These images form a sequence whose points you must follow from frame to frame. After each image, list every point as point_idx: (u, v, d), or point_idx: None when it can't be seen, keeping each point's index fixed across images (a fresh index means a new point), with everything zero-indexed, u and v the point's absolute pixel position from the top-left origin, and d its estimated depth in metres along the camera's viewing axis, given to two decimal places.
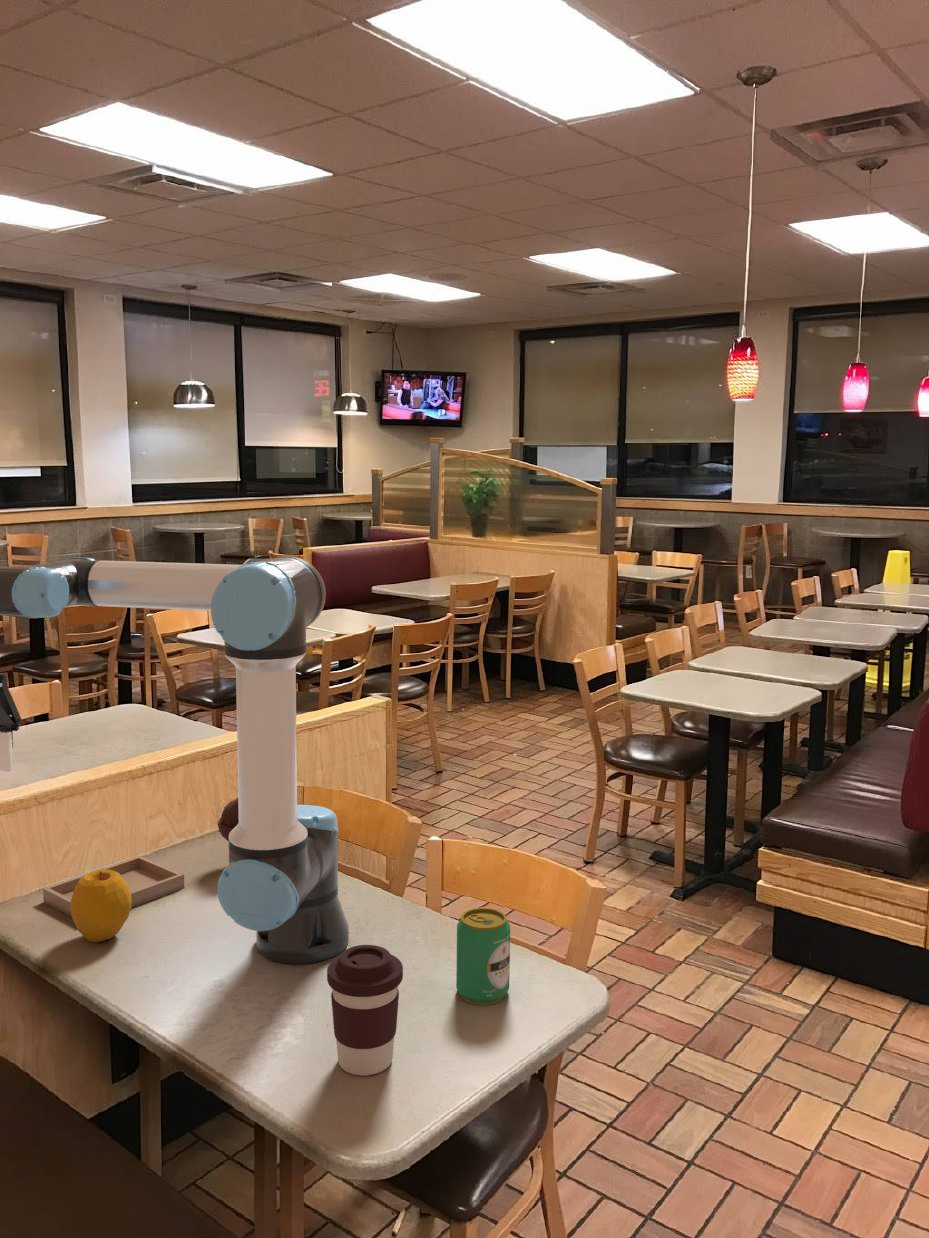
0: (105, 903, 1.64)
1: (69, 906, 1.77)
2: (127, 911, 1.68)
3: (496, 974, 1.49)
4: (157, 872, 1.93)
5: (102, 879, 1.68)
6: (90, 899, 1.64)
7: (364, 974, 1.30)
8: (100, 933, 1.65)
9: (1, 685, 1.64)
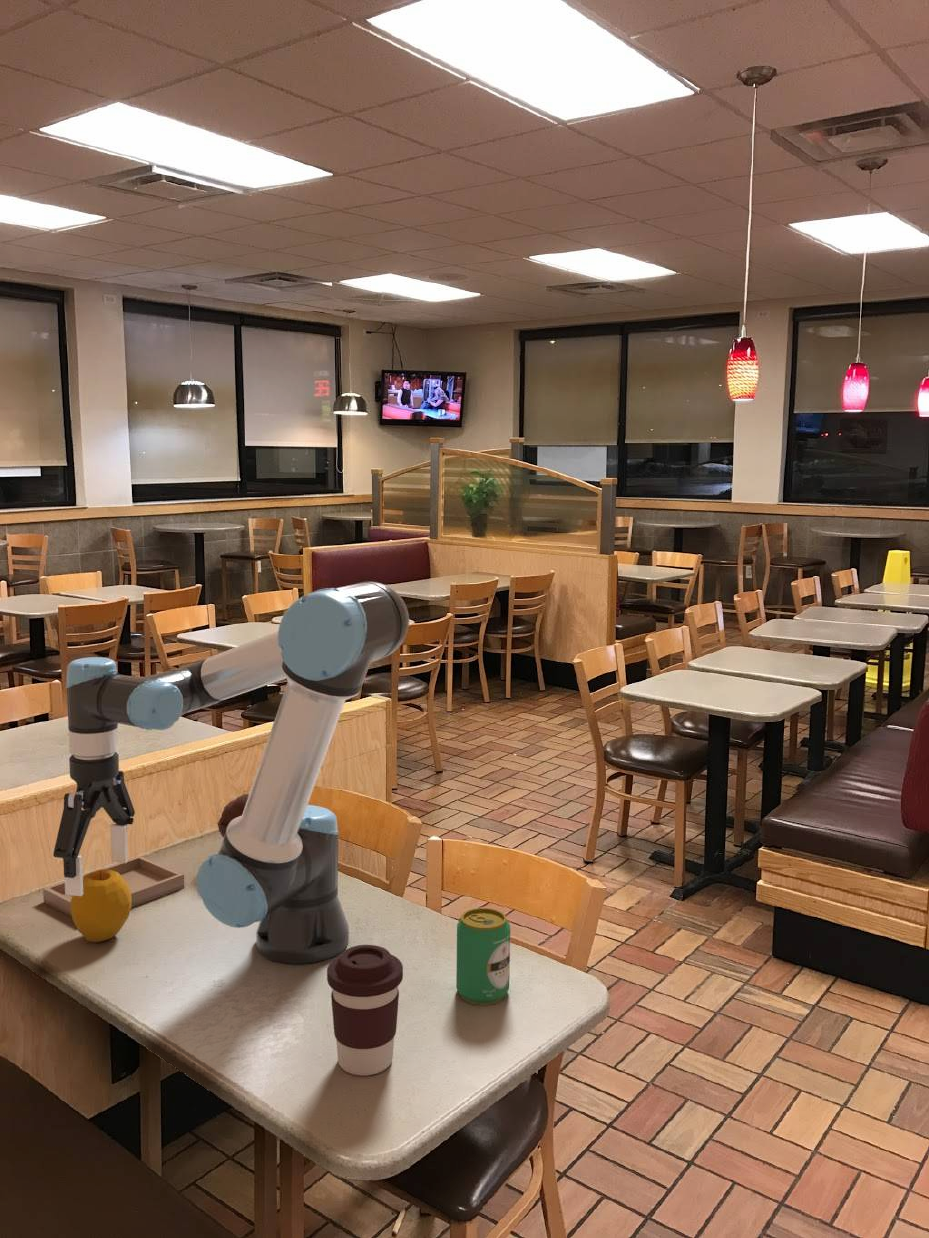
0: (105, 903, 1.64)
1: (69, 906, 1.77)
2: (127, 911, 1.68)
3: (496, 974, 1.49)
4: (157, 872, 1.93)
5: (102, 879, 1.68)
6: (90, 899, 1.64)
7: (364, 974, 1.30)
8: (100, 933, 1.65)
9: (119, 782, 1.70)
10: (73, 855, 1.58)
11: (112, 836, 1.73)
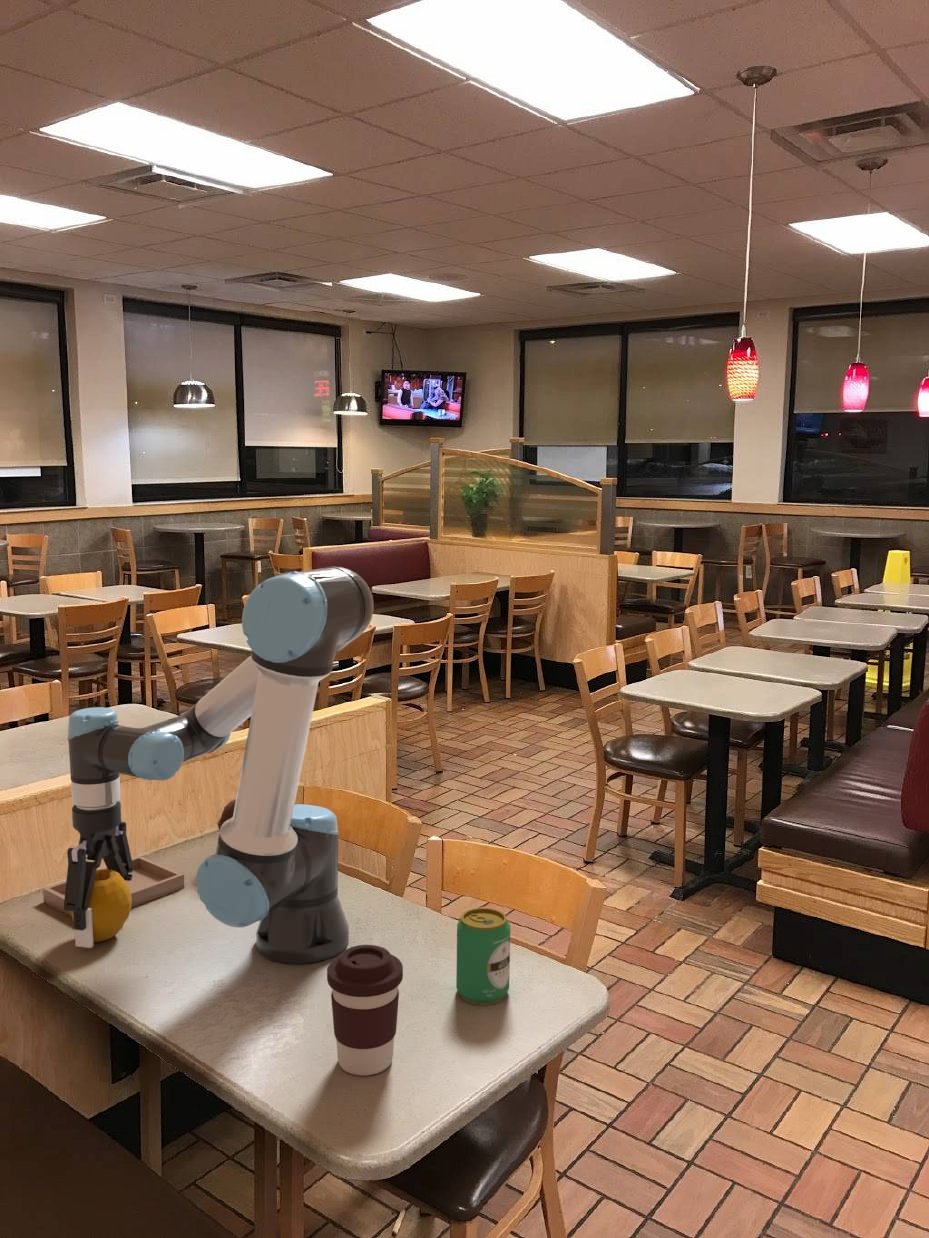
0: (105, 902, 1.64)
1: None
2: (127, 911, 1.68)
3: (496, 974, 1.49)
4: (157, 872, 1.93)
5: (102, 879, 1.68)
6: (90, 899, 1.64)
7: (364, 974, 1.30)
8: (100, 933, 1.65)
9: (121, 833, 1.71)
10: (83, 908, 1.61)
11: None
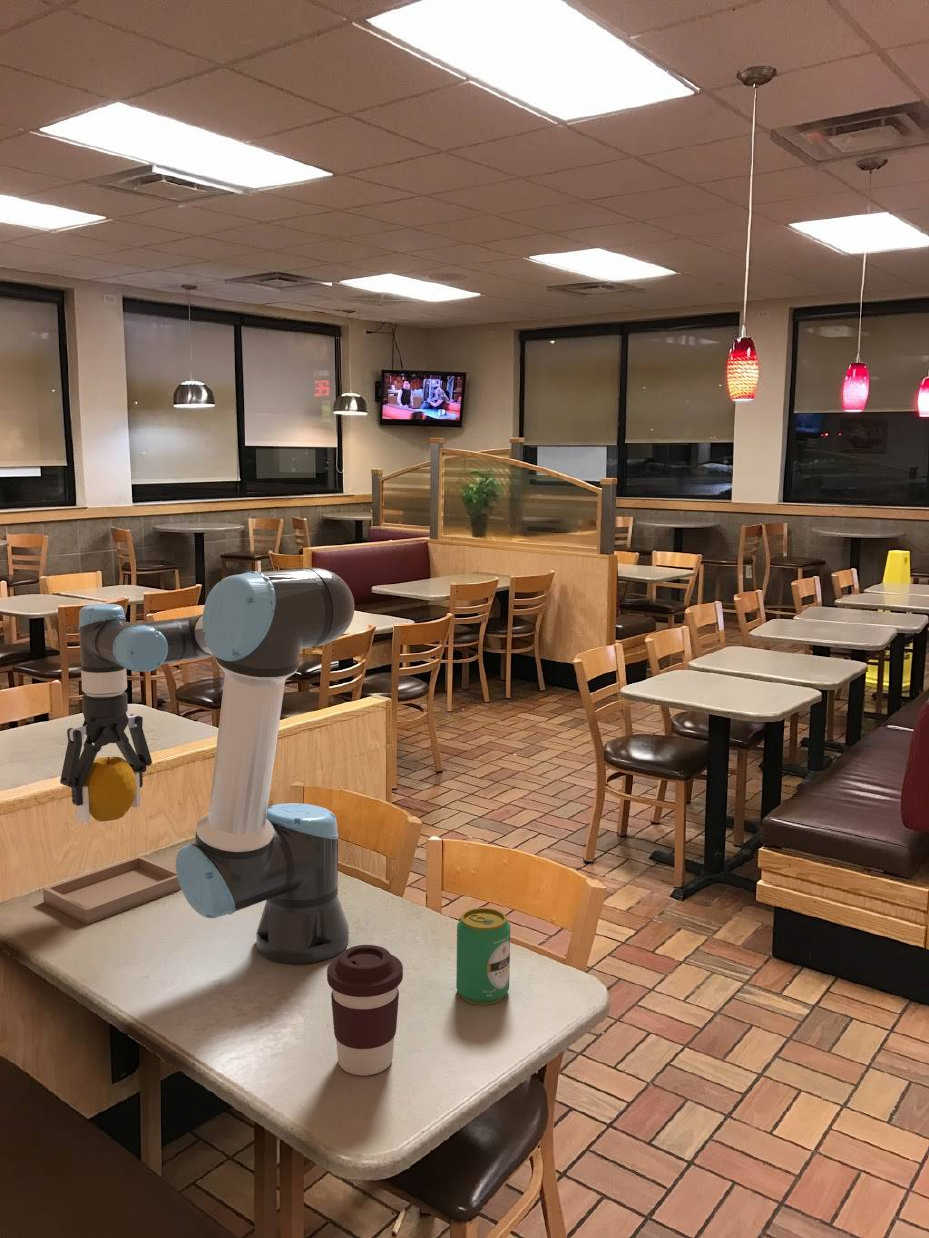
0: (100, 784, 1.77)
1: (69, 906, 1.77)
2: (125, 797, 1.79)
3: (496, 974, 1.49)
4: (157, 872, 1.93)
5: (111, 765, 1.82)
6: (89, 779, 1.77)
7: (364, 974, 1.30)
8: (98, 813, 1.78)
9: (136, 726, 1.83)
10: (77, 785, 1.75)
11: None
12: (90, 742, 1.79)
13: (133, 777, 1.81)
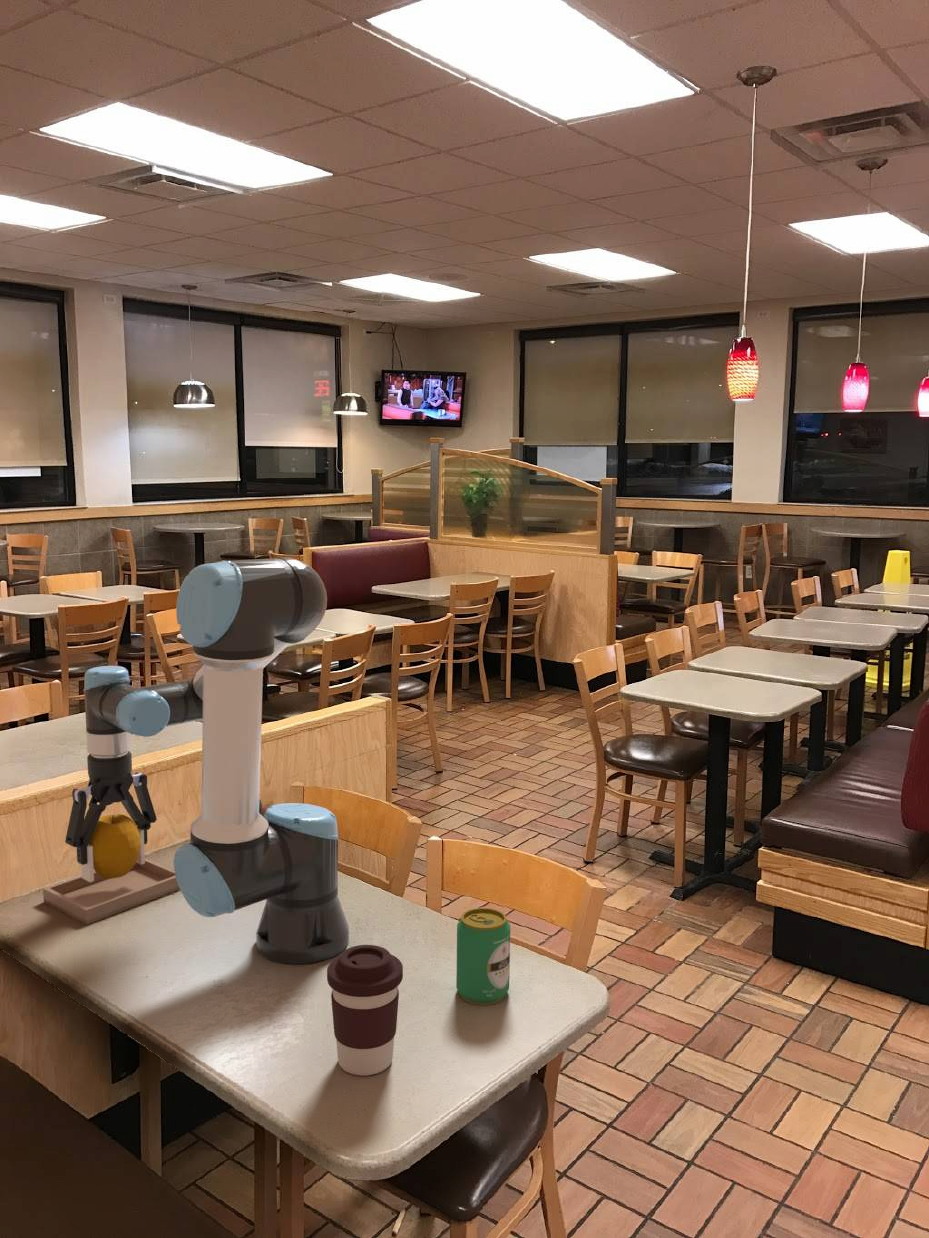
0: (104, 844, 1.80)
1: (69, 906, 1.77)
2: (128, 856, 1.82)
3: (496, 974, 1.49)
4: (157, 872, 1.93)
5: (116, 823, 1.85)
6: (94, 838, 1.81)
7: (364, 974, 1.30)
8: (102, 871, 1.82)
9: (140, 784, 1.86)
10: (82, 845, 1.78)
11: None
12: (95, 801, 1.82)
13: (137, 835, 1.84)
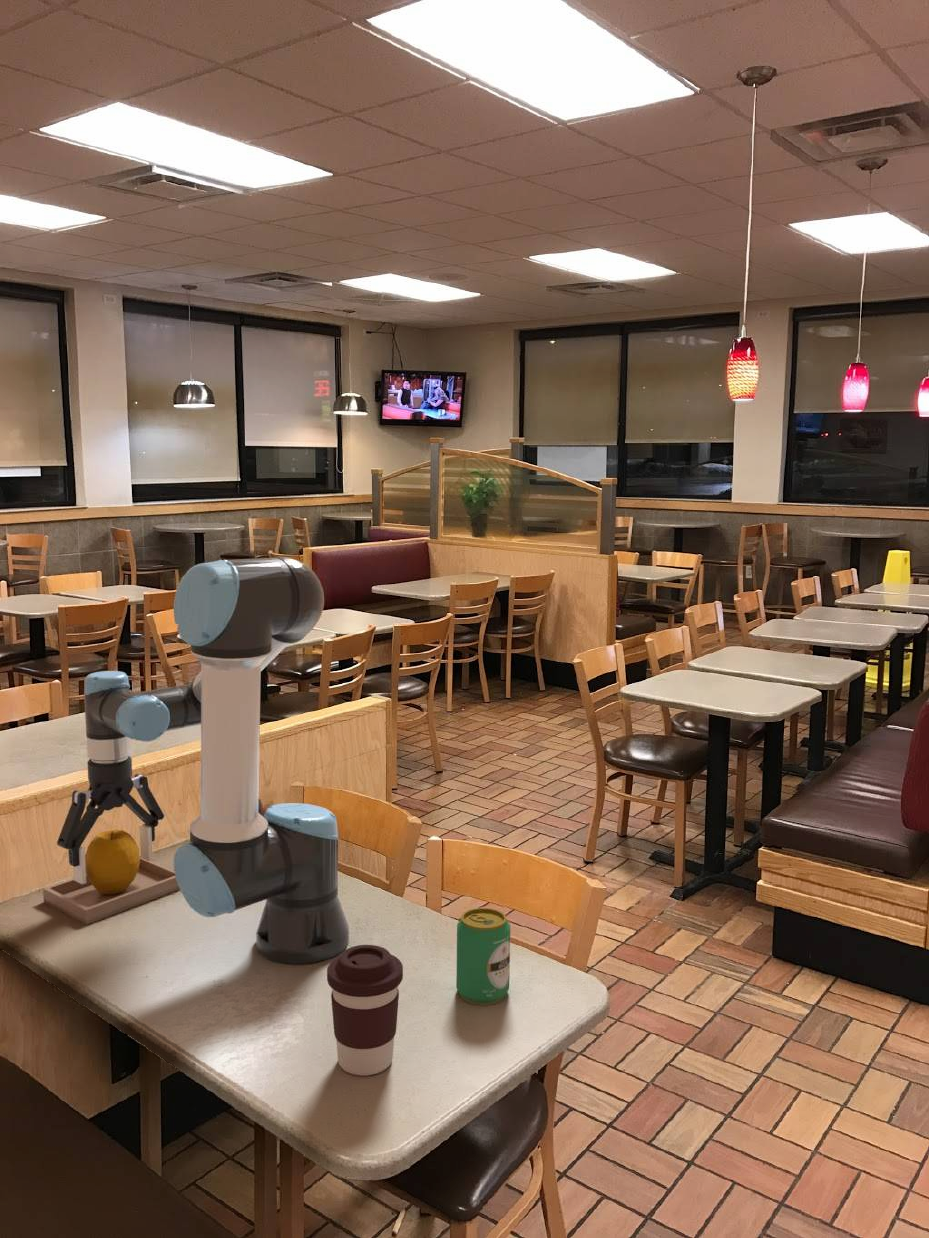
0: (103, 860, 1.80)
1: (69, 906, 1.77)
2: (127, 871, 1.82)
3: (496, 974, 1.49)
4: (157, 872, 1.93)
5: (115, 838, 1.85)
6: (93, 854, 1.81)
7: (364, 974, 1.30)
8: (101, 887, 1.82)
9: (141, 786, 1.87)
10: (73, 846, 1.77)
11: (140, 835, 1.90)
12: (93, 806, 1.82)
13: (136, 851, 1.84)
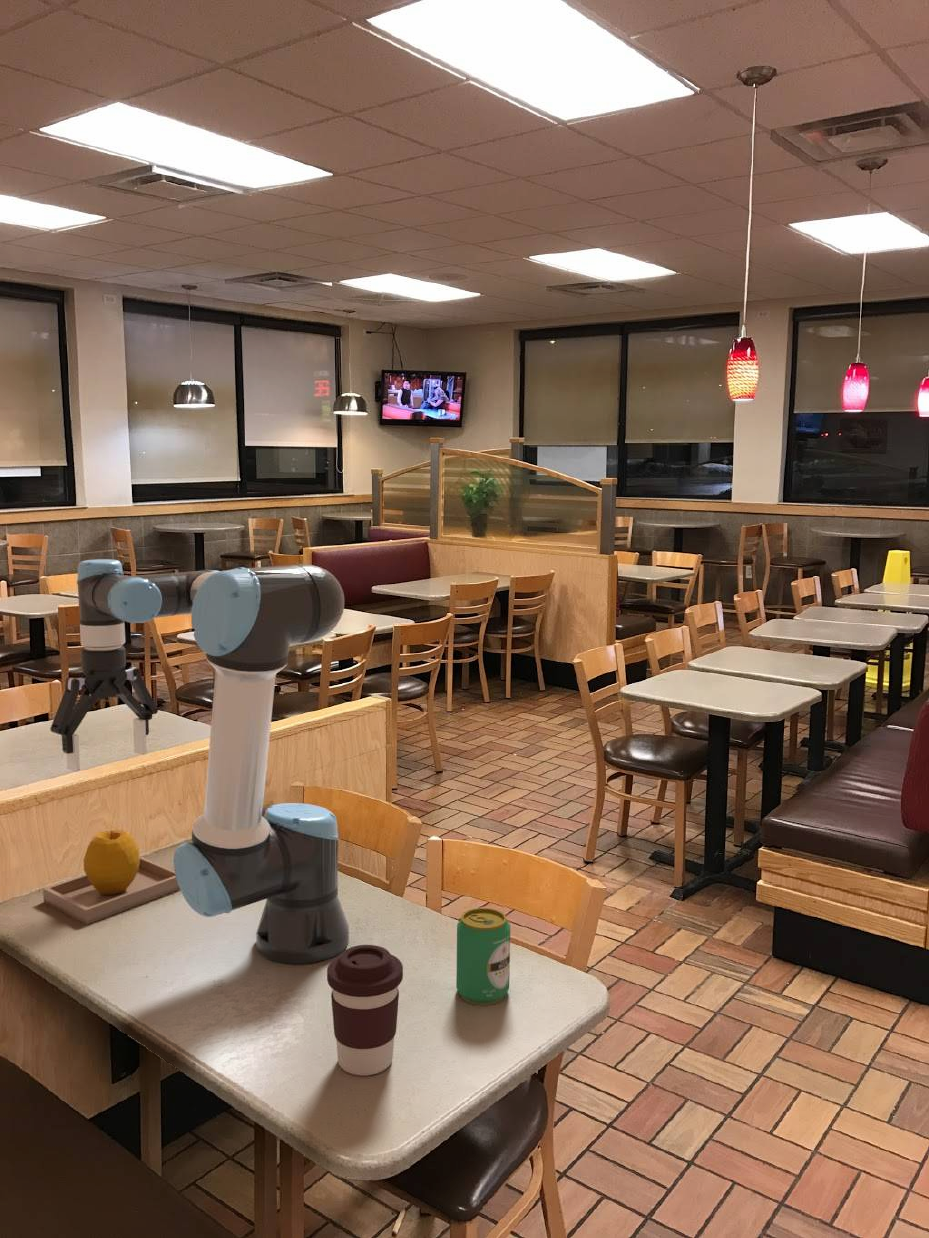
0: (103, 860, 1.80)
1: (69, 906, 1.77)
2: (127, 871, 1.82)
3: (496, 974, 1.49)
4: (157, 872, 1.93)
5: (114, 838, 1.85)
6: (92, 854, 1.81)
7: (364, 974, 1.30)
8: (101, 887, 1.82)
9: (135, 678, 1.86)
10: (67, 733, 1.76)
11: (134, 729, 1.89)
12: (87, 695, 1.81)
13: (136, 851, 1.84)
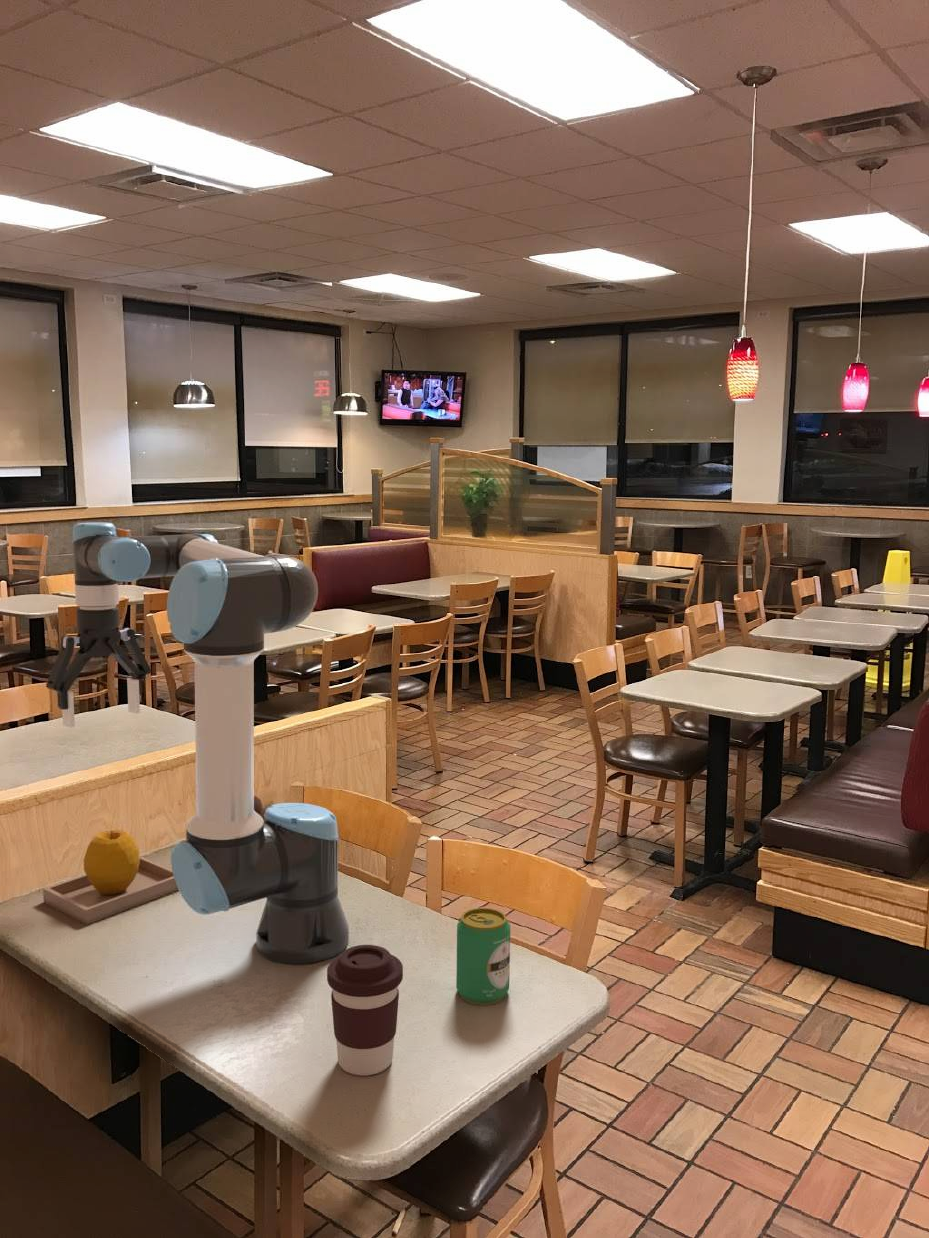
0: (103, 860, 1.80)
1: (69, 906, 1.77)
2: (127, 871, 1.82)
3: (496, 974, 1.49)
4: (157, 872, 1.93)
5: (114, 838, 1.85)
6: (92, 854, 1.81)
7: (364, 974, 1.30)
8: (101, 887, 1.82)
9: (129, 638, 1.91)
10: (62, 689, 1.82)
11: (128, 688, 1.95)
12: (81, 653, 1.87)
13: (136, 851, 1.84)
